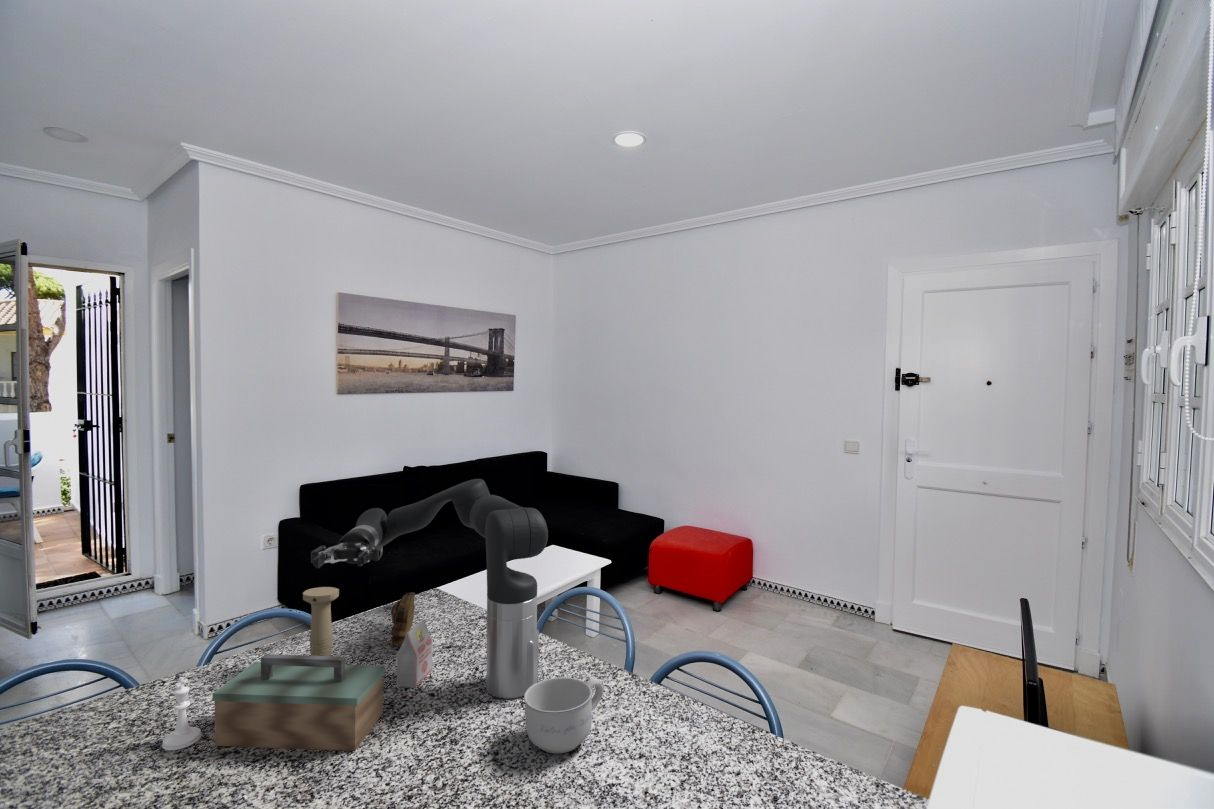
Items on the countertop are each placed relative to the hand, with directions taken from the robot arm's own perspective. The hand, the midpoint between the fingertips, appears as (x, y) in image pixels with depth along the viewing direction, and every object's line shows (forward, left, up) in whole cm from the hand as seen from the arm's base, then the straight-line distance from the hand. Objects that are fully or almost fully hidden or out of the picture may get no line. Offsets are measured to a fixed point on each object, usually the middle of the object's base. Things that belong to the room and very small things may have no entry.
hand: (338, 562), depth 121 cm
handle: (-1, +9, -18) cm, 20 cm away
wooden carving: (-13, -2, -18) cm, 22 cm away
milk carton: (-21, +13, -18) cm, 31 cm away
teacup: (-52, +30, -18) cm, 63 cm away
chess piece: (+8, +34, -18) cm, 39 cm away
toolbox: (-9, +26, -18) cm, 32 cm away
